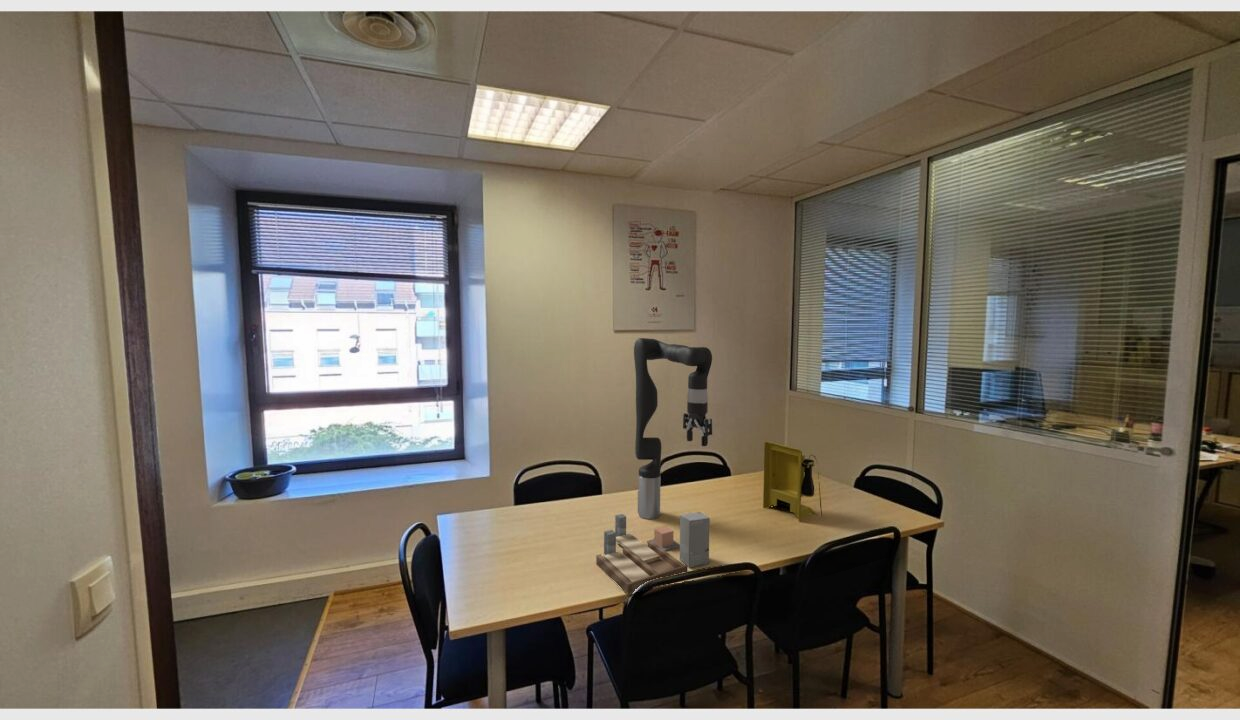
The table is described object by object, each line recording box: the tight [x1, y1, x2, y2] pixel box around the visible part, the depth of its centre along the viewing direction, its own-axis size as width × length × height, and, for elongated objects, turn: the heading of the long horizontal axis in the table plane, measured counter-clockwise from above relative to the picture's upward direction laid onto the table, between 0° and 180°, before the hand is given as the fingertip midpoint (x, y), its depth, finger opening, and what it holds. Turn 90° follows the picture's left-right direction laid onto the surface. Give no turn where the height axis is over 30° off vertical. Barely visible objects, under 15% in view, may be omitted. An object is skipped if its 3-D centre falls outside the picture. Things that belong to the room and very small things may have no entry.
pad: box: [646, 538, 680, 552], centre depth 167 cm, size 9×9×1 cm
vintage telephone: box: [762, 441, 823, 522], centre depth 196 cm, size 31×14×30 cm, turn 34°
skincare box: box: [679, 511, 710, 568], centre depth 155 cm, size 8×7×16 cm
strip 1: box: [614, 513, 660, 563], centre depth 162 cm, size 22×6×8 cm, turn 30°
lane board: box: [595, 540, 688, 596], centre depth 149 cm, size 21×22×3 cm
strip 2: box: [603, 529, 649, 582], centre depth 148 cm, size 22×6×8 cm, turn 30°
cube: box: [653, 525, 674, 547], centre depth 167 cm, size 5×5×5 cm
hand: (696, 443), depth 171 cm, fingers open, 8 cm apart
